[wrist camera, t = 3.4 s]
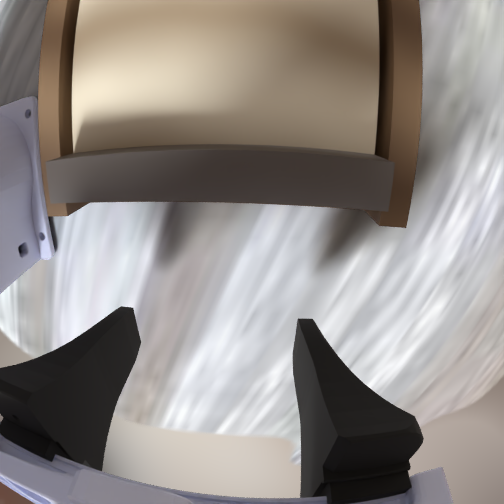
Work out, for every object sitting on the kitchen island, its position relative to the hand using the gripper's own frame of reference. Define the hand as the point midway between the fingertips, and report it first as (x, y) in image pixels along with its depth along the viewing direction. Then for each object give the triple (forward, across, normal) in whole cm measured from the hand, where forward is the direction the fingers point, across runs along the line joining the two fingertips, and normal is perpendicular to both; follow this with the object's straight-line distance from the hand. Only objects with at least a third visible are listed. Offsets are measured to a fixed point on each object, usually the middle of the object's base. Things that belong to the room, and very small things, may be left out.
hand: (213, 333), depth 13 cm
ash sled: (+2, 0, -12) cm, 12 cm away
